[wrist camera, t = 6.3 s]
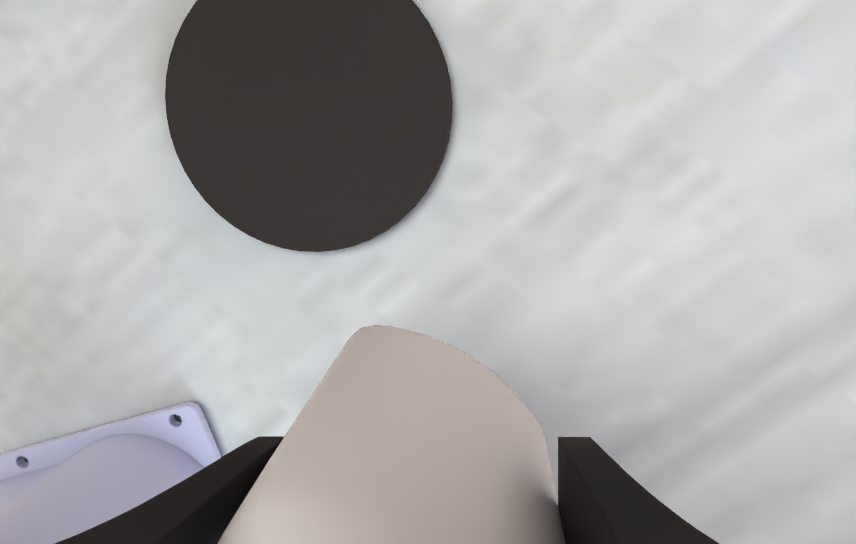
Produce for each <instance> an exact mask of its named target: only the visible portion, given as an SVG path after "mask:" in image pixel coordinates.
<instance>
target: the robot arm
mask: <svg viewBox="0 0 856 544" xmlns="http://www.w3.org/2000/svg"><path fill="white" fill-rule="evenodd" d="M174 414H176V415H178V416H180V418H181V420H182V422H179V421H177V420H176V419H175V418H174ZM283 438H284V437H257V438H255V439H253V440H251V441H249V442H247V443H245V444H243V445H242V446H240V447H238V448H236V449H235V450H233V451H231V452H230V453H228V454H226V455H225V456H223V457H221V455H220V452H219V450H218V447H217V445H216V443H215V440H214V438H213V435H212V433H211V430H210V428H209V426H208V423H207V421H206V418H205V416H204V414H203V411H202V409H201V408H200V406H199V405H197V404H196V403H193V402H184V403H181V404H177V405H174V406H170V407H166V408H163V409H159V410H155V411H152V412H148V413H145V414H141V415H137V416H134V417H130V418H127V419H123V420H119V421H116V422H112V423H108V424H105V425H101V426H98V427H94V428H90V429H87V430H83V431H79V432H76V433H72V434H69V435H65V436H61V437H58V438H54V439H50V440H47V441H43V442H40V443H36V444H32V445H29V446H25V447H21V448H18V449H14V450H11V451H7V452H3V453H1V454H0V544H218V542H219V540H220V538H221V536H222V535H223V533H224V531H225V530H226V528H227V526H228V525H229V523H230V522H231V520H232V518H233V517H234V515H235V514H236V512H237V510H238V509H239V507H240V506H241V504H242V502H243V501H244V499H245V498H246V496H247V494H248V493H249V491H250V490H251V488H252V487H253V485H254V483H255V482H256V480H257V479H258V477H259V475H260V474H261V472H262V471H263V469H264V467H265V466H266V464H267V463H268V461H269V460H270V458H271V457H272V455H273V453H274V452H275V450H276V449H277V447H278V446H279V444H280V443H281V441H282V440H283ZM24 457H25V458H26V459H27V460H28V462H27V461H25V459H24ZM558 507H559V512H560V517H561V522H562V527H563V532H564V538H565V543H566V544H719V543H717V542H716V541H714V540H713V539H711V538H710V537H708V536H707V535H705V534H704V533H702V532H701V531H699V530H697V529H696V528H695V527H693V526H692V525H690V524H689V523H687V522H686V521H685V520H683V519H682V518H681V517H679V516H678V515H677V514H675V513H674V512H673V511H672V510H670V509H669V508H668V507H666V506H665V505H664V504H662V503H661V502H660V501H659V500H657V499H656V498H655V497H654V496H653V495H651V494H650V493H649V492H648V491H647V490H645V489H644V488H643V487H642V486H641V485H640V484H639V483H637V482H636V481H635V480H634V479H633V478H632V477H631V476H630V475H629V474H627V473H626V472H625V471H624V470H623V469H622V468H621V467H620V466H619V465H618V464H617V463H616V462H615V461H614V460H613V459H612V458H611V457H610V456H609V455H608V454H607V453H606V452H605V451H604V450H603V449H602V448H601V447H600V446H599V445H598V444H596V443H595V442H594V441H593V440H592V439H591V438H590V437H558Z"/></svg>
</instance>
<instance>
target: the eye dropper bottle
mask: <svg viewBox="0 0 856 544" xmlns="http://www.w3.org/2000/svg"><path fill="white" fill-rule="evenodd" d="M218 544H566V543H565V538H564V532H563V527H562V522H561V517H560V512H559V507H558V500H557V495H556V490H555V485H554V480H553V475H552V470H551V465H550V460H549V455H548V450H547V445H546V441H545V437H544V433H543V431H542V429H541V427H540V426H539V424H538V422H537V421H536V419H535V417H534V416H533V415H532V413H531V412H530V411H529V409H528V408H527V407H526V406H525V404H524V403H523V402H522V401H521V400H520V398H519V397H518V396H517V395H516V394H515V393H514V392H513V391H512V390H511V389H510V387H509V386H507V385H506V384H505V383H504V382H503V381H502V380H501V379H500V378H499V377H498V376H497V375H495V374H494V373H493V372H492V371H491V370H489V369H488V368H487V367H485V366H484V365H483V364H481V363H480V362H478V361H477V360H475V359H474V358H472V357H471V356H469V355H467V354H465V353H464V352H462V351H460V350H458V349H456V348H454V347H452V346H450V345H448V344H446V343H444V342H441V341H439V340H437V339H434V338H431V337H429V336H426V335H423V334H419V333H416V332H413V331H409V330H405V329H400V328H395V327H390V326H381V325H373V326H368V327H363V328H361V329H359V330H358V331H357V332H356V333H354V334H353V335H352V336H351V337H350V339H349V340H348V342H347V343H346V344H345V346H344V347H343V349H342V350H341V352H340V353H339V355H338V356H337V358H336V359H335V361H334V362H333V364H332V365H331V367H330V368H329V370H328V371H327V373H326V374H325V376H324V377H323V379H322V380H321V382H320V383H319V385H318V386H317V388H316V389H315V391H314V392H313V394H312V396H311V397H310V399H309V400H308V402H307V403H306V405H305V406H304V408H303V409H302V411H301V412H300V414H299V415H298V417H297V418H296V420H295V421H294V423H293V424H292V426H291V427H290V429H289V431H288V432H287V434H286V435H285V437H284V438H283V440H282V441H281V443H280V444H279V446H278V447H277V449H276V450H275V452H274V453H273V455H272V457H271V458H270V460H269V461H268V463H267V464H266V466H265V467H264V469H263V471H262V472H261V474H260V475H259V477H258V479H257V480H256V482H255V483H254V485H253V487H252V488H251V490H250V491H249V493H248V494H247V496H246V498H245V499H244V501H243V502H242V504H241V506H240V507H239V509H238V510H237V512H236V514H235V515H234V517H233V518H232V520H231V522H230V523H229V525H228V526H227V528H226V530H225V531H224V533H223V535H222V536H221V538H220V540H219V542H218Z"/></svg>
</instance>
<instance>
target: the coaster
mask: <svg viewBox="0 0 856 544" xmlns="http://www.w3.org/2000/svg"><path fill="white" fill-rule="evenodd" d="M165 99H166V113H167V120H168V125H169V130H170V135H171V138H172V141H173V144H174V147H175V150H176V153H177V155H178V158H179V160H180V162H181V164H182V166H183V169H184V171H185V172H186V174H187V176H188V177H189V179H190V180H191V182H192V184H193V185H194V187H195V188H196V189H197V191H198V192H199V193H200V195H201V196H202V197H203V198H204V200H205V201H206V202H207V203H208V204H209V205H210V206H211V207H212V208H213V209H214V210H215V211H216V212H217V213H218V214H219V215H220V216H221V217H223V218H224V219H225V220H227V221H228V222H229V223H230V224H232V225H233V226H234V227H236V228H238V229H239V230H241V231H243V232H244V233H246V234H248V235H249V236H251V237H254V238H256V239H258V240H260V241H263V242H265V243H268V244H271V245H274V246H278V247H281V248H285V249H291V250H297V251H311V252H321V251H332V250H339V249H343V248H347V247H352V246H355V245H358V244H360V243H363V242H365V241H368V240H371V239H372V238H374V237H376V236H378V235H380V234H382V233H383V232H385V231H387V230H388V229H390V228H391V227H392V226H394V225H395V224H396V223H398V222H399V221H401V220H402V219H403V218H404V217H405V216H406V215H407V214H408V213H409V212H410V211H411V210H412V209H413V208H414V207H415V206H416V205H417V203H418V202H419V201H420V200H421V198H422V197H423V196H424V195H425V193H426V192H427V190H428V189H429V187H430V185H431V184H432V182H433V180H434V179H435V177H436V175H437V173H438V170H439V168H440V166H441V163H442V161H443V159H444V155H445V152H446V148H447V145H448V142H449V136H450V130H451V123H452V93H451V83H450V78H449V74H448V69H447V65H446V61H445V58H444V56H443V53H442V50H441V47H440V45H439V42H438V40H437V38H436V36H435V34H434V32H433V30H432V28H431V26H430V24H429V23H428V21H427V20H426V18H425V17H424V15H423V14H422V12H421V11H420V10H419V8H418V7H417V5H416V4H415V3H414V2H413V1H412V0H198V1H197V2H196V3H195V4H194V5H193V7H192V9H191V10H190V12H189V13H188V15H187V16H186V18H185V20H184V21H183V23H182V26H181V28H180V30H179V32H178V34H177V36H176V39H175V42H174V45H173V48H172V51H171V55H170V58H169V64H168V70H167V75H166V92H165Z"/></svg>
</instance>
